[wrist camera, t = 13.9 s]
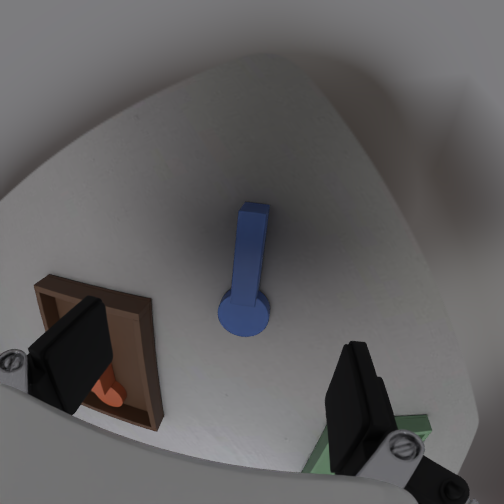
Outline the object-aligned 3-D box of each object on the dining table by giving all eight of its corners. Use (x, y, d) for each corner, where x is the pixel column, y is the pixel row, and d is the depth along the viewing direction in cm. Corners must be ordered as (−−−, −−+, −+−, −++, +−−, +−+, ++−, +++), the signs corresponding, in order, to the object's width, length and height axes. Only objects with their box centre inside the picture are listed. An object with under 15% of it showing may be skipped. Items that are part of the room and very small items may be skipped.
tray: (49, 274, 23) (33, 284, 21) (151, 298, 23) (138, 314, 20) (79, 387, 29) (70, 399, 27) (164, 416, 28) (157, 431, 26)
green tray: (331, 415, 25) (332, 434, 23) (426, 414, 24) (432, 430, 22) (297, 479, 31) (296, 493, 28) (374, 478, 30) (376, 491, 28)
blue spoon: (229, 199, 19) (220, 208, 17) (285, 206, 19) (285, 216, 16) (219, 323, 23) (212, 344, 20) (266, 331, 22) (263, 352, 20)
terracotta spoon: (83, 327, 24) (68, 342, 22) (114, 337, 24) (101, 354, 22) (101, 393, 28) (91, 409, 25) (129, 403, 28) (120, 420, 25)
